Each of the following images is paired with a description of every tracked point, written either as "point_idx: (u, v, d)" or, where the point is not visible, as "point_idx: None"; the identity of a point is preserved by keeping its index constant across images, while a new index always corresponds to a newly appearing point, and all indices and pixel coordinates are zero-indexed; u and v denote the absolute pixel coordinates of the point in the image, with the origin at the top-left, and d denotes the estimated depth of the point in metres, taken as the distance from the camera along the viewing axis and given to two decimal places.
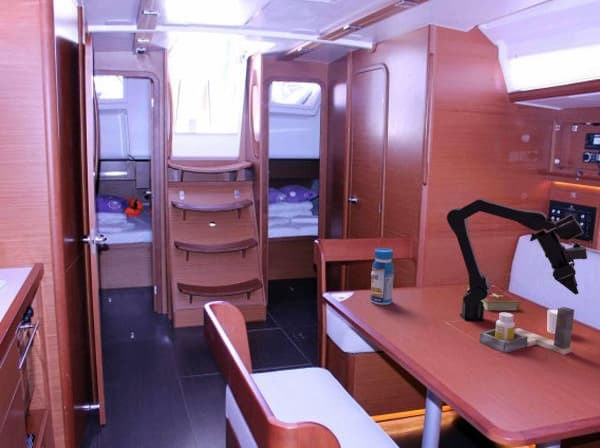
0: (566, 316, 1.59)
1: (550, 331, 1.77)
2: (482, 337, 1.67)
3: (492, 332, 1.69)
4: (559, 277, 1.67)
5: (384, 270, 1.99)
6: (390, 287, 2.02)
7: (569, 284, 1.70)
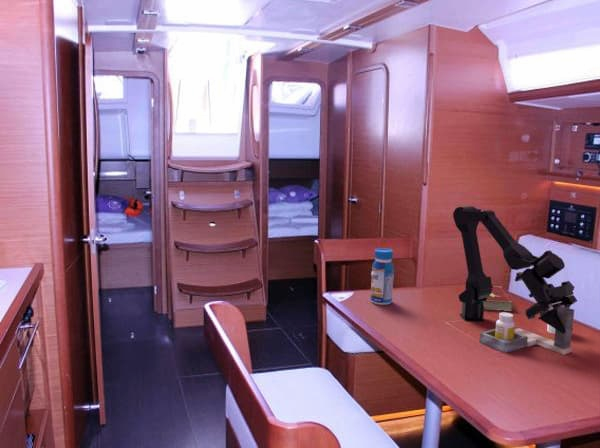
0: (566, 316, 1.59)
1: (550, 331, 1.77)
2: (482, 337, 1.67)
3: (492, 332, 1.69)
4: (530, 316, 1.60)
5: (384, 270, 1.99)
6: (390, 287, 2.02)
7: (553, 322, 1.61)
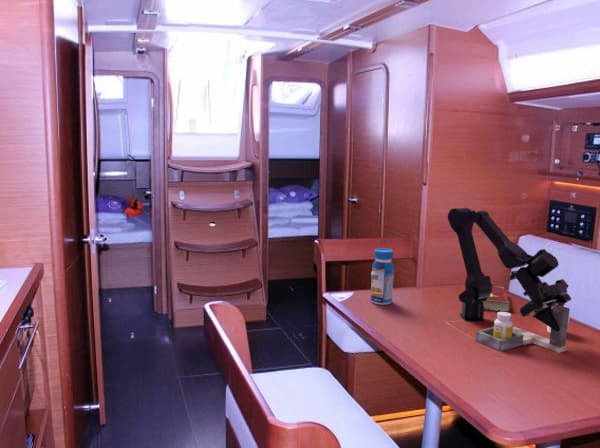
0: (562, 314, 1.60)
1: (550, 331, 1.77)
2: (478, 336, 1.68)
3: (488, 331, 1.70)
4: (524, 314, 1.62)
5: (384, 270, 1.99)
6: (390, 287, 2.02)
7: (547, 320, 1.62)
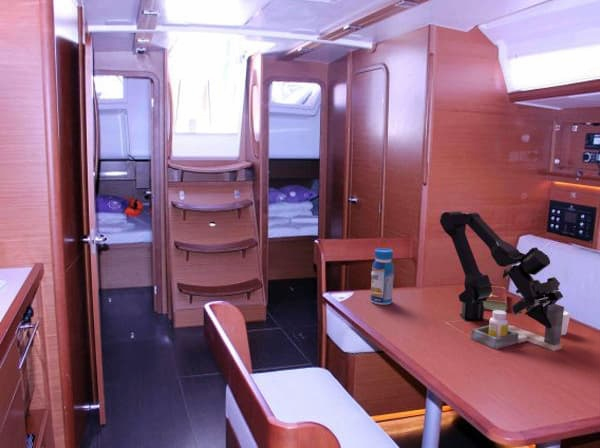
0: (556, 313, 1.61)
1: None
2: (473, 334, 1.69)
3: (484, 329, 1.72)
4: (516, 311, 1.64)
5: (384, 270, 1.99)
6: (390, 287, 2.02)
7: (539, 318, 1.65)
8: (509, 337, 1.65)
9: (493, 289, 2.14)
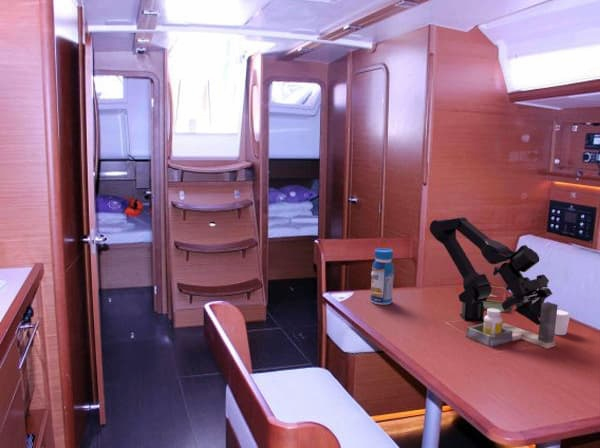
0: (550, 311, 1.63)
1: None
2: (468, 332, 1.71)
3: (478, 327, 1.73)
4: (506, 308, 1.67)
5: (384, 270, 1.99)
6: (390, 287, 2.02)
7: (528, 314, 1.68)
8: (503, 335, 1.67)
9: (494, 289, 2.14)
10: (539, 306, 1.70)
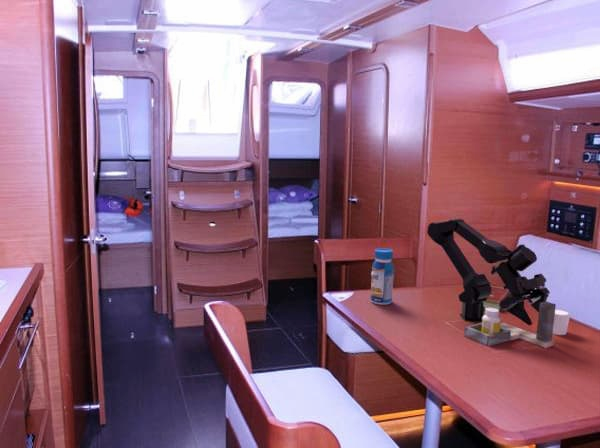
0: (548, 310, 1.64)
1: None
2: (466, 331, 1.72)
3: (477, 326, 1.74)
4: (503, 307, 1.67)
5: (384, 270, 1.99)
6: (390, 287, 2.02)
7: (520, 315, 1.67)
8: (501, 334, 1.67)
9: (495, 289, 2.13)
10: None
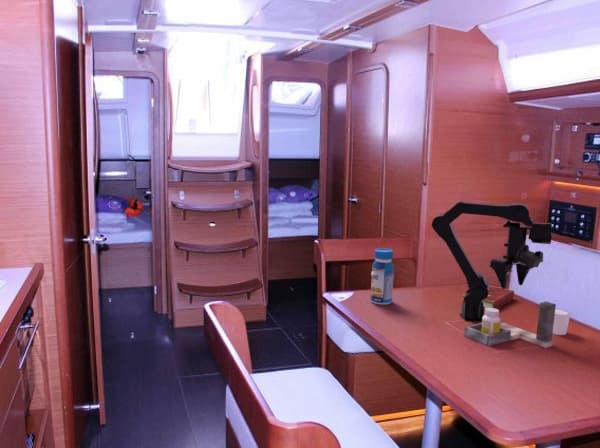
0: (548, 310, 1.64)
1: None
2: (466, 331, 1.72)
3: (477, 326, 1.74)
4: (492, 266, 1.78)
5: (384, 270, 1.99)
6: (390, 287, 2.02)
7: (501, 277, 1.80)
8: (501, 334, 1.67)
9: (497, 290, 2.13)
10: (524, 271, 1.84)
